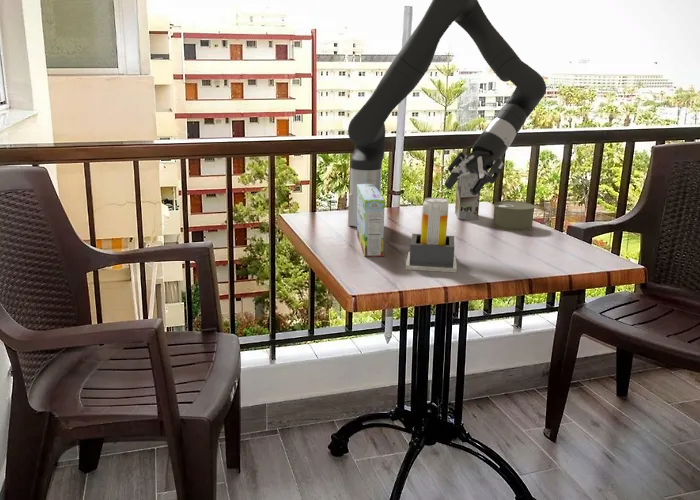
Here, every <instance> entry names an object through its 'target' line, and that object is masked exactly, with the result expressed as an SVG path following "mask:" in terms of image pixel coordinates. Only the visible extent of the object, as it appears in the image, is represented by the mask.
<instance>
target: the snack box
mask: <svg viewBox="0 0 700 500" xmlns="http://www.w3.org/2000/svg"><path fill="white" fill-rule="evenodd" d="M385 201H386V200H385V199H384V197H383V196H382V193H381V194H380V192H379V191H378V189H377V188H376V186H375V184H357V227H356V236H357V238H358V242H359V245H360V248H361V251H362V254H363V256H364V258H367V257H384V256H385V255H384V254H385V253H384V250H385V249H384V244H385V205H386V204H385V203H386V202H385Z"/></svg>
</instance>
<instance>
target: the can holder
mask: <svg viewBox="0 0 700 500" xmlns="http://www.w3.org/2000/svg"><path fill="white" fill-rule="evenodd" d="M457 268H458V267H457V254H456V253H455V236H454V235H446V244H445V245H433V244H421V233H412V236H411V240H410V245H409V251H408V254H407V259H406V262H405V270H410V271H426V272H444V273H457V270H458V269H457Z"/></svg>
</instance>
